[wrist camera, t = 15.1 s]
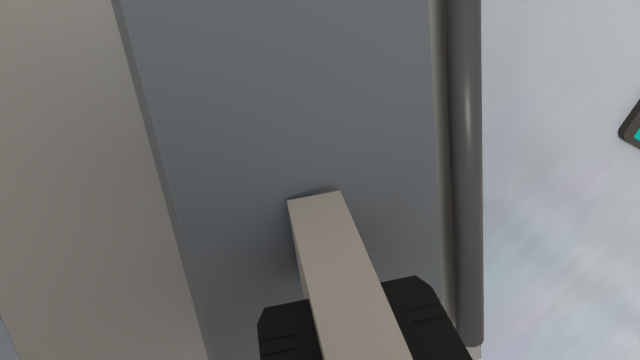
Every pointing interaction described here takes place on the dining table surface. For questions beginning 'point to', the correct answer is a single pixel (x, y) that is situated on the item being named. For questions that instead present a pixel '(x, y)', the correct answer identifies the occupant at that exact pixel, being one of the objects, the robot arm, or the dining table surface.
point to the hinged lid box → (108, 194)
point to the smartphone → (631, 127)
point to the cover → (306, 143)
